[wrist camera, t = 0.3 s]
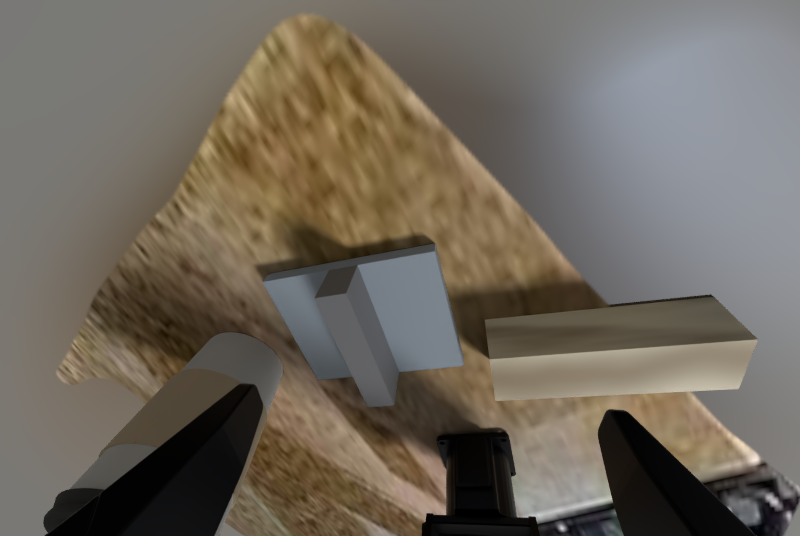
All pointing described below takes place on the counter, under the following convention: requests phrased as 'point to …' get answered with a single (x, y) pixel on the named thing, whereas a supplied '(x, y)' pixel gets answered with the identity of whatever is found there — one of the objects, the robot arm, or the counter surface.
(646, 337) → the ash bar
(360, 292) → the ridge stand
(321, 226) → the counter surface
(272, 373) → the coffee cup
